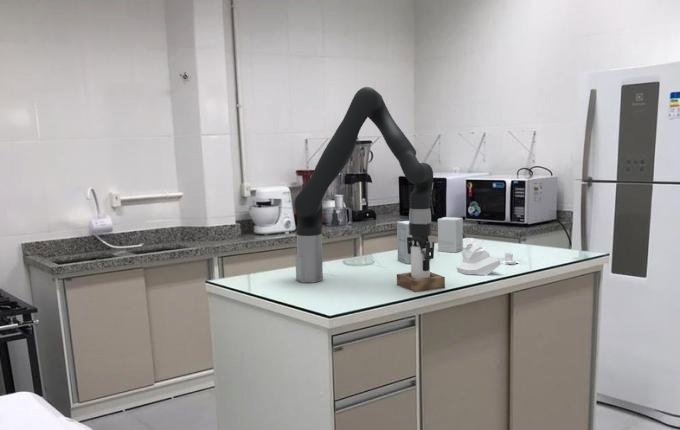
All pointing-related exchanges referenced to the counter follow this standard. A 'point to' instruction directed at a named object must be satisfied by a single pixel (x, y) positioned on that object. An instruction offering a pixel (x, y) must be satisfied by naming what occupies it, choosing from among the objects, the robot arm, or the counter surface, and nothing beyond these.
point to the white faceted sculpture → (477, 260)
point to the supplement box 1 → (403, 241)
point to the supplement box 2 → (450, 234)
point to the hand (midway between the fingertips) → (420, 268)
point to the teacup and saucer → (508, 258)
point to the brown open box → (420, 282)
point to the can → (418, 264)
